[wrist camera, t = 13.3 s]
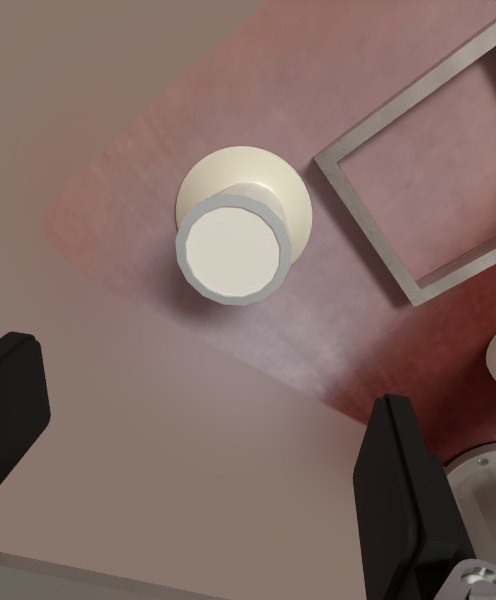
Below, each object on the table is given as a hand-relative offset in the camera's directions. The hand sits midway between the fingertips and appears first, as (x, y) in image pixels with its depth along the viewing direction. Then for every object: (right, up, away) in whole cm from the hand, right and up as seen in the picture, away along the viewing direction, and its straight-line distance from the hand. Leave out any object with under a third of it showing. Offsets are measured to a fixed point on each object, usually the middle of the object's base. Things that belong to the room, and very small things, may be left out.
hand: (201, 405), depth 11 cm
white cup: (+1, +9, +19) cm, 21 cm away
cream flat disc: (+1, +9, +19) cm, 21 cm away
